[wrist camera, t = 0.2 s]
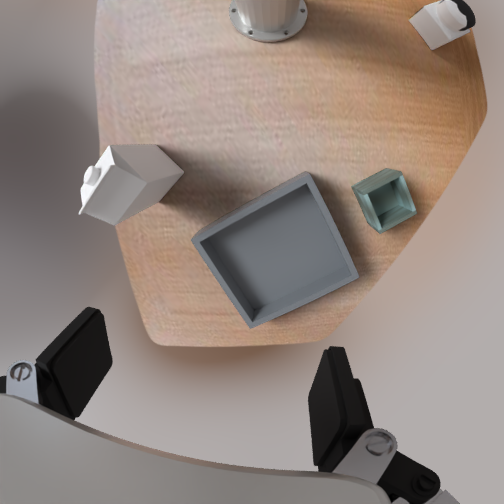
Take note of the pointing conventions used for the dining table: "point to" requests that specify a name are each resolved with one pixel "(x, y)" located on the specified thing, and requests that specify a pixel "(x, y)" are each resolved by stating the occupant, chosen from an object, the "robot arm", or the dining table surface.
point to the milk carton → (127, 181)
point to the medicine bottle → (443, 22)
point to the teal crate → (384, 199)
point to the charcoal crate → (277, 251)
